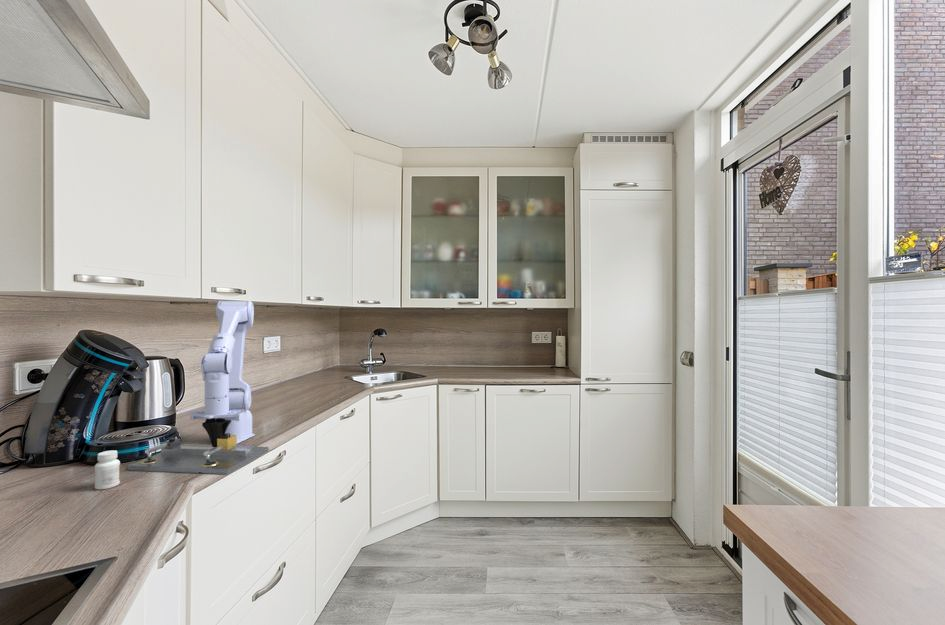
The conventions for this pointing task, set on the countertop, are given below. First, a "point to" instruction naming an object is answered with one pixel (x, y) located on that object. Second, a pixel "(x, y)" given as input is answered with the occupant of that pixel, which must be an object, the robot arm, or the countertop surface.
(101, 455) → the pill bottle
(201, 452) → the rail
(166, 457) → the flange plate
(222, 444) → the sliding leg
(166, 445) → the fixed leg
